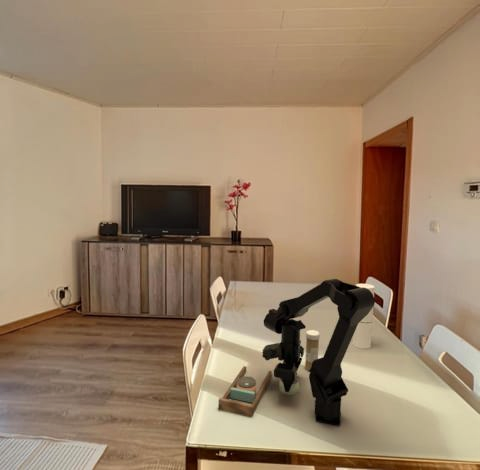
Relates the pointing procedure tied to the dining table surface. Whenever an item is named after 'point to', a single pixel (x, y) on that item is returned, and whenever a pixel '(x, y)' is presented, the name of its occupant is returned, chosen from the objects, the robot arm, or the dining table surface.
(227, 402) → the lane
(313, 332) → the sprinkles bottle
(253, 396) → the pusher
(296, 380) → the green jar
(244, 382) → the terracotta jar
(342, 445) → the dining table surface
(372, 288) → the cylindrical container
